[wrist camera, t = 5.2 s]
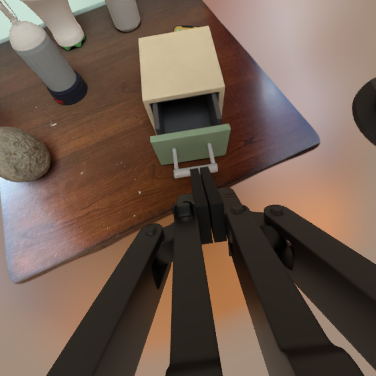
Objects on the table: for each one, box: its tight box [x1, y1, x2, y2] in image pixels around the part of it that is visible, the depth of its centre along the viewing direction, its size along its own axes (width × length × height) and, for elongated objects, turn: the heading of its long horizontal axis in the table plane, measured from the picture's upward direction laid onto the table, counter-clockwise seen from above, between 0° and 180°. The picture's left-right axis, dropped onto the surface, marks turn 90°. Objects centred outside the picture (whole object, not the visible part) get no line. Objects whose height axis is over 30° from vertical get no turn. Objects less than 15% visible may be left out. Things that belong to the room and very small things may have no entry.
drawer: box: [150, 92, 231, 178], centre depth 35 cm, size 20×13×8 cm, turn 8°
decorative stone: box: [0, 127, 51, 182], centre depth 36 cm, size 10×8×10 cm
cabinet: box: [139, 26, 225, 135], centre depth 39 cm, size 16×14×10 cm
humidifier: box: [0, 1, 87, 105], centre depth 36 cm, size 8×8×25 cm
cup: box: [21, 0, 85, 50], centre depth 47 cm, size 11×11×14 cm
